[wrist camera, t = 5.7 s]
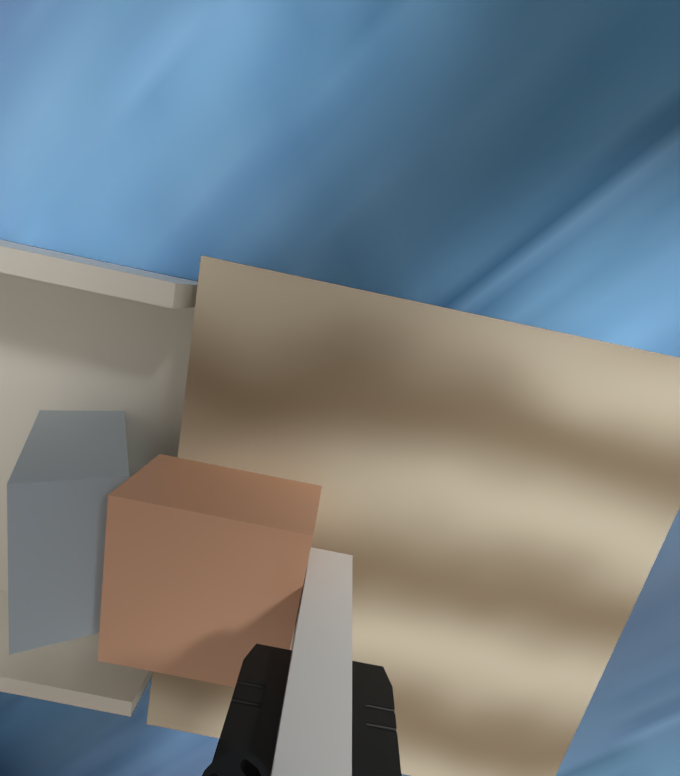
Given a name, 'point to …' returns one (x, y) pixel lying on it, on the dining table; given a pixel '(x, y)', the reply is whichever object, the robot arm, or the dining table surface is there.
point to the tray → (85, 393)
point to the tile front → (202, 567)
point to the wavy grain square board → (444, 498)
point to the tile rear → (61, 524)
